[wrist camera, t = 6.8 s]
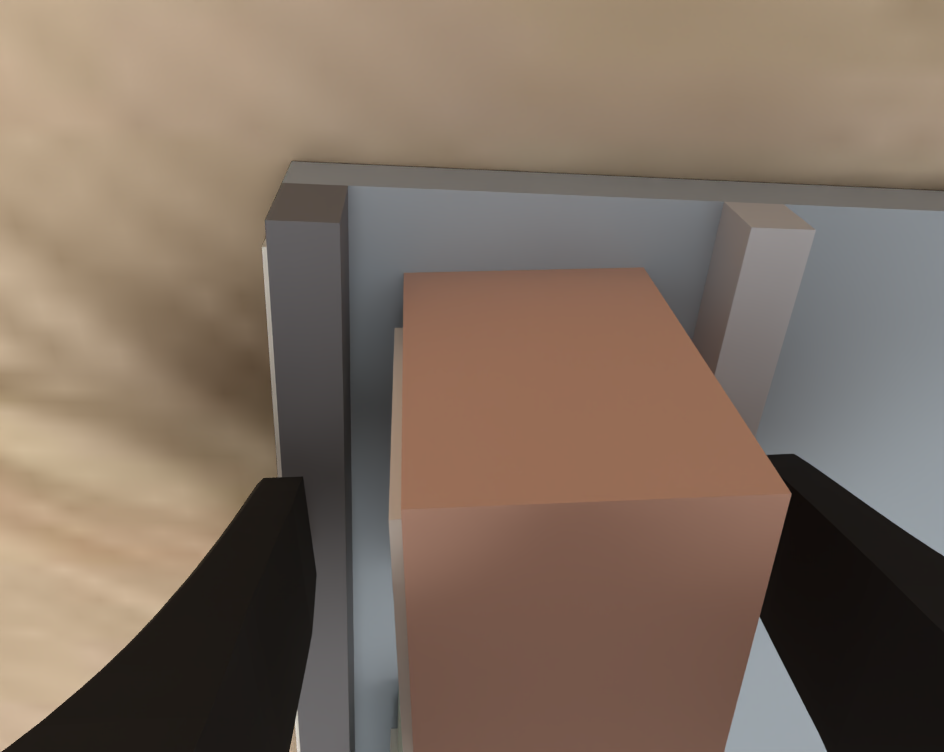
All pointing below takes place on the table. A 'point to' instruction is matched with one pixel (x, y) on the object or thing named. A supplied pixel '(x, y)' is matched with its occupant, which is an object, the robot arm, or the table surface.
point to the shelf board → (695, 306)
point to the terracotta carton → (569, 519)
